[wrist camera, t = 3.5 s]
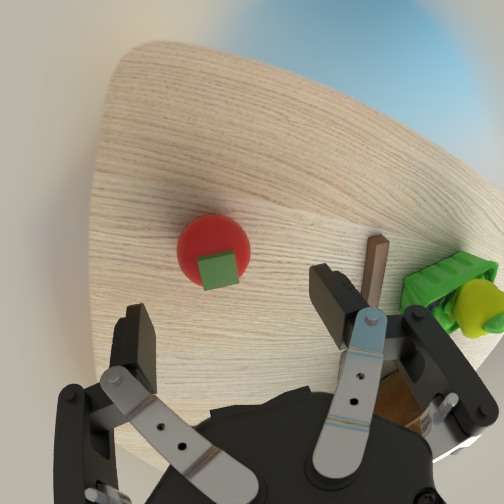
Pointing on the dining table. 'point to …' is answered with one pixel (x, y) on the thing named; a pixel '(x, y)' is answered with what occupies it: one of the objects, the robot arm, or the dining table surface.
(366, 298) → the fork
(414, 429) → the bowl
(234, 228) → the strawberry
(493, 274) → the fruit basket
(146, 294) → the dining table surface
